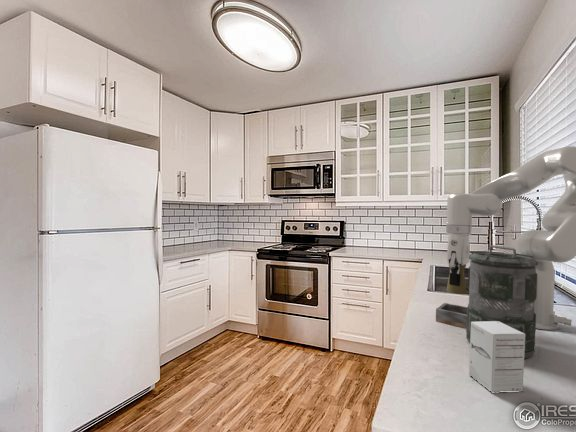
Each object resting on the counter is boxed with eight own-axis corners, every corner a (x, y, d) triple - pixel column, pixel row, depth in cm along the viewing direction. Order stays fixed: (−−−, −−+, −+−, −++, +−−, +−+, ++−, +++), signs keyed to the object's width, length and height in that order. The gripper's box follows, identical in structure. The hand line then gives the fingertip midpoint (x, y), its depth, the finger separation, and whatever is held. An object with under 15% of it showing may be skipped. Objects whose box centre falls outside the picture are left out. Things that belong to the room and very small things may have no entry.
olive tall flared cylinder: (461, 289, 111) (462, 258, 110) (469, 294, 105) (471, 261, 104) (443, 288, 111) (444, 257, 111) (450, 293, 105) (451, 260, 105)
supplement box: (467, 375, 72) (469, 320, 72) (498, 374, 73) (499, 320, 73) (490, 394, 65) (493, 333, 65) (524, 393, 66) (526, 333, 65)
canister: (453, 339, 93) (456, 243, 92) (491, 332, 98) (494, 242, 98) (507, 364, 78) (511, 251, 77) (548, 355, 84) (552, 249, 83)
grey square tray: (475, 321, 108) (476, 309, 108) (468, 329, 101) (469, 316, 101) (444, 314, 115) (444, 302, 115) (435, 321, 108) (436, 308, 108)
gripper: (464, 232, 99) (462, 290, 99) (476, 230, 111) (474, 282, 111) (439, 230, 104) (437, 286, 104) (453, 228, 116) (451, 278, 116)
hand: (456, 283), depth 108 cm, fingers closed on olive tall flared cylinder, 3 cm apart
